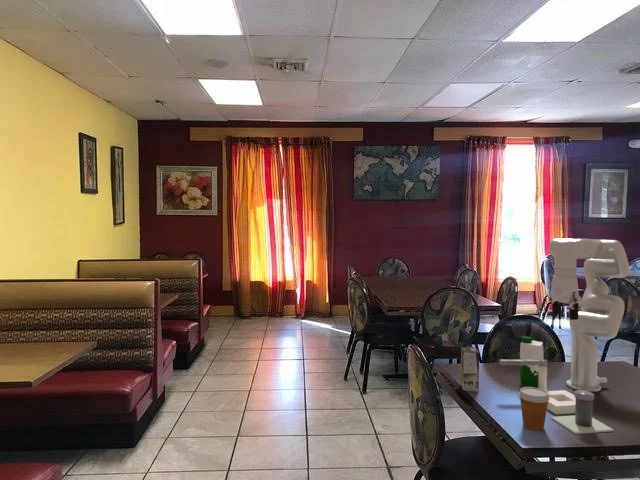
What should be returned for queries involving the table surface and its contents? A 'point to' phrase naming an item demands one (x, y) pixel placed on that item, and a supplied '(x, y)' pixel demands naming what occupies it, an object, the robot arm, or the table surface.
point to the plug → (583, 408)
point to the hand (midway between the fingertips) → (564, 316)
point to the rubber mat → (577, 429)
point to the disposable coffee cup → (534, 407)
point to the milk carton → (530, 352)
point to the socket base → (556, 396)
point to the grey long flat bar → (524, 362)
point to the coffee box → (470, 369)
